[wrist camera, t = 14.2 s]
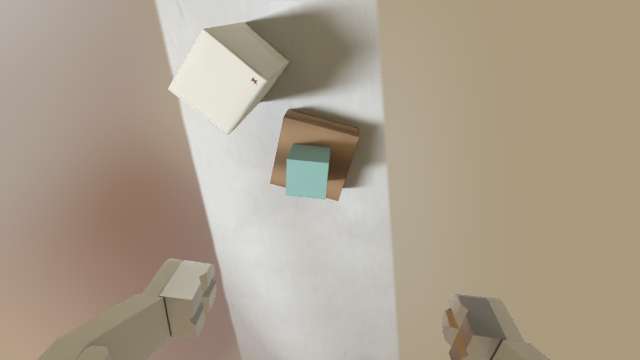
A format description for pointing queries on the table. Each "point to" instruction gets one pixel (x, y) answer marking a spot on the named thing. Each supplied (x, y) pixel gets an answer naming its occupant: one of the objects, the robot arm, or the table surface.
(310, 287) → the table surface
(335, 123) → the walnut block
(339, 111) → the table surface
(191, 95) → the supplement box
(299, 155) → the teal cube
